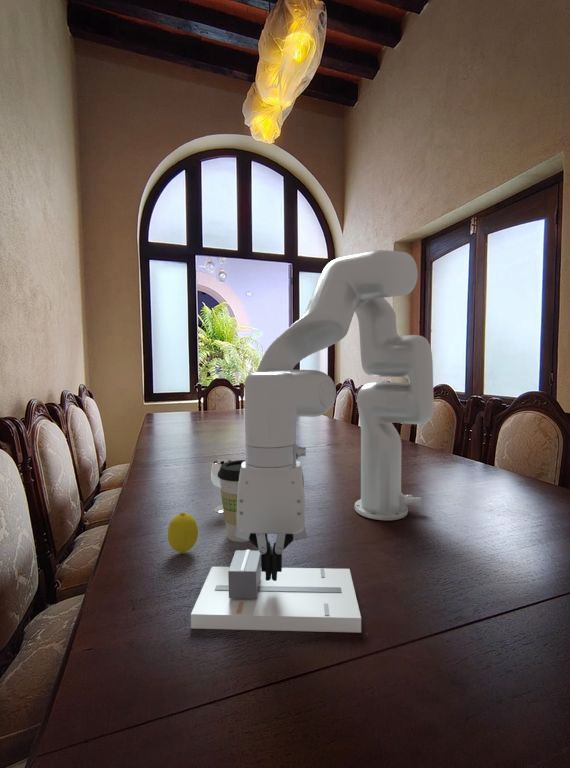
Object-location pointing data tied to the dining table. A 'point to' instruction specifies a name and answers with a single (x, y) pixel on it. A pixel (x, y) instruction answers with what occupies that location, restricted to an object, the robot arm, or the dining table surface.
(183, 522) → the lemon
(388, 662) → the dining table surface
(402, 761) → the dining table surface
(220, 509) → the wineglass
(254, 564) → the fader
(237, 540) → the coffee cup
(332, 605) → the fader board
